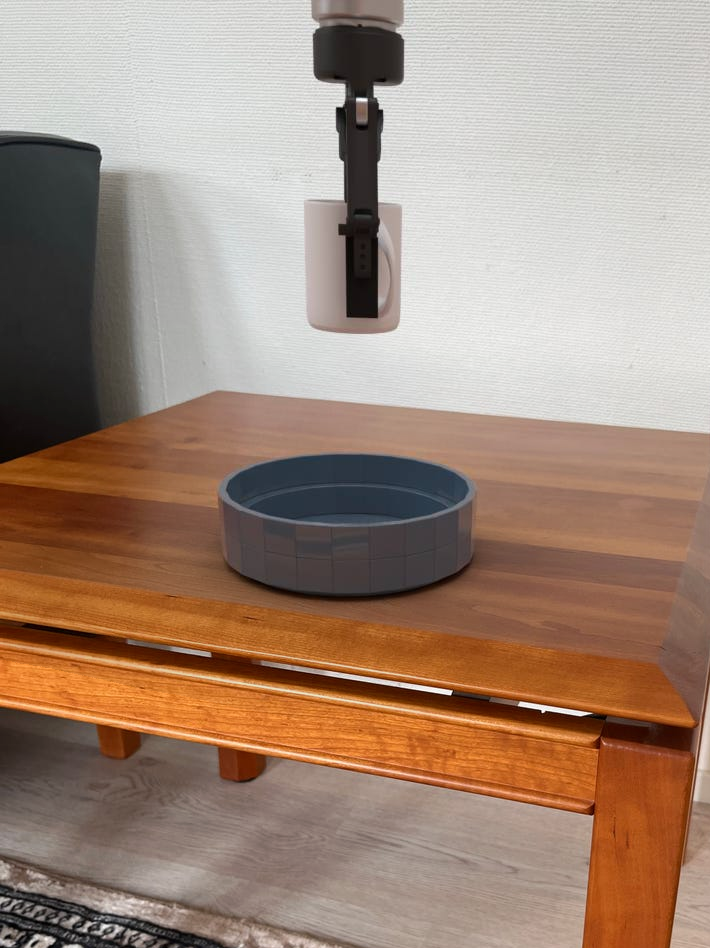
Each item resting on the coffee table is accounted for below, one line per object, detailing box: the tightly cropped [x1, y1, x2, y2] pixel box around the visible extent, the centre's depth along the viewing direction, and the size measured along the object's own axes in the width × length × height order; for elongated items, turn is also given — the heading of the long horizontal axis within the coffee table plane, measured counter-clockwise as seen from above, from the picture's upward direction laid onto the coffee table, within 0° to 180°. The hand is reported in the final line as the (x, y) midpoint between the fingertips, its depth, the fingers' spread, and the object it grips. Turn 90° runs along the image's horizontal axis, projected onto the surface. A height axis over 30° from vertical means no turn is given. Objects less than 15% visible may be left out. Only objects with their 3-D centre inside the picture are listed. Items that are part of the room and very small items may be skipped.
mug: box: [303, 198, 403, 335], centre depth 91 cm, size 9×12×11 cm
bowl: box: [216, 451, 478, 597], centre depth 78 cm, size 19×19×6 cm
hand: (360, 309), depth 93 cm, fingers closed on mug, 11 cm apart
